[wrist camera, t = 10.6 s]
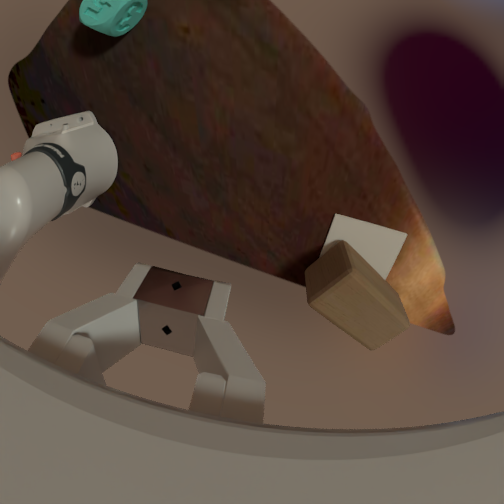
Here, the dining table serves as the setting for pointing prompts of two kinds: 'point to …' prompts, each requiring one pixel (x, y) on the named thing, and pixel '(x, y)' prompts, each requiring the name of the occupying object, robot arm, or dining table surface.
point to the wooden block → (355, 297)
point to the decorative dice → (112, 15)
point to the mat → (367, 241)
